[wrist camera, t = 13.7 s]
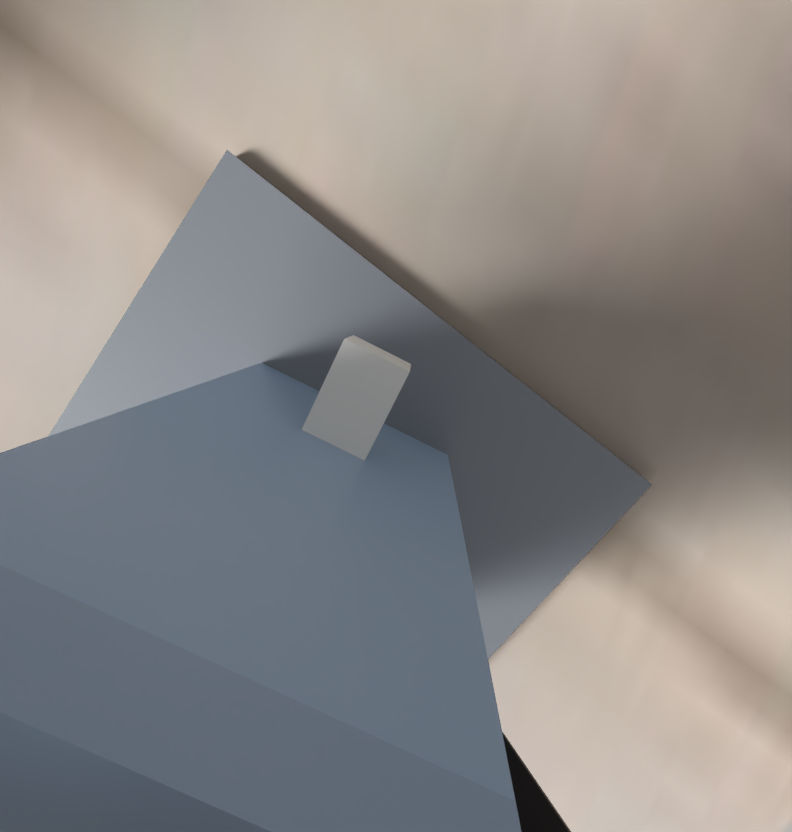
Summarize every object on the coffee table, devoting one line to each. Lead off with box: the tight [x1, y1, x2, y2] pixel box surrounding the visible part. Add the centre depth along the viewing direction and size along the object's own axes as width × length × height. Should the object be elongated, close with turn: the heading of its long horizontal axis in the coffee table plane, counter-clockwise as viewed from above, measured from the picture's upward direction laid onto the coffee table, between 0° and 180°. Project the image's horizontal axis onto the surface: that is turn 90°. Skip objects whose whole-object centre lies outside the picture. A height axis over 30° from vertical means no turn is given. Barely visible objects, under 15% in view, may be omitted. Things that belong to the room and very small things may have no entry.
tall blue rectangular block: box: [0, 335, 522, 832], centre depth 9 cm, size 8×6×11 cm
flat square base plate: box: [49, 150, 652, 658], centre depth 13 cm, size 14×12×4 cm
